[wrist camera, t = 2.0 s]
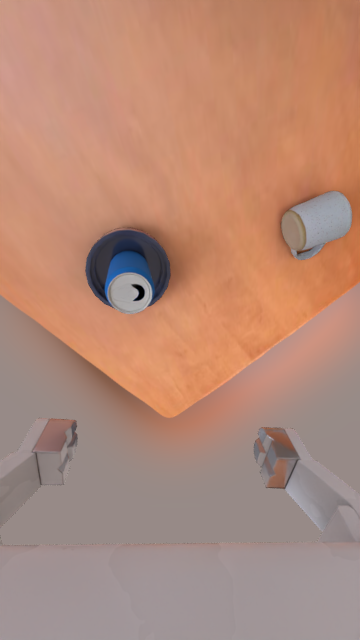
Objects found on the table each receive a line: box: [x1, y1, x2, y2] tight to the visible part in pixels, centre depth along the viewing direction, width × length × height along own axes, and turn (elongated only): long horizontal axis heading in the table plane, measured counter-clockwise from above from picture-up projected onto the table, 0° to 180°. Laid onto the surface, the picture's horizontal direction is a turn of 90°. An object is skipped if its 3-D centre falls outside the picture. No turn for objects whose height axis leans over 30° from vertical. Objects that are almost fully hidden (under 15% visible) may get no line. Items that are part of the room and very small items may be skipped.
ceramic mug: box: [281, 191, 352, 260], centre depth 42 cm, size 11×8×8 cm
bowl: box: [85, 228, 170, 308], centre depth 42 cm, size 13×13×3 cm
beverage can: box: [105, 251, 155, 314], centre depth 37 cm, size 6×6×12 cm
